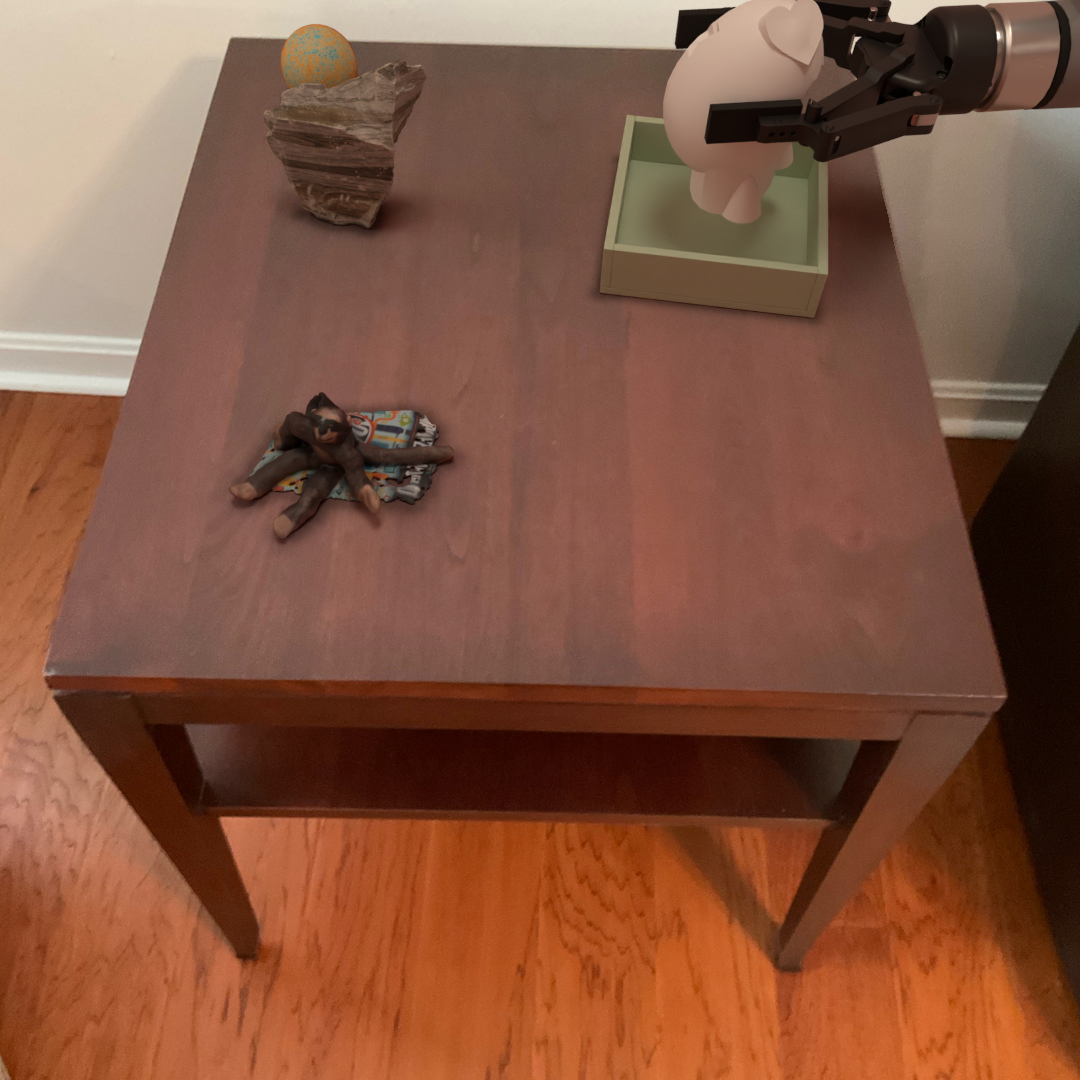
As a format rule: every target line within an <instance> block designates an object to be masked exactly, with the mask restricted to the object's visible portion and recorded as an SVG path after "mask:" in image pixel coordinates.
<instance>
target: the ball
mask: <svg viewBox="0 0 1080 1080" xmlns="http://www.w3.org/2000/svg"><path fill="white" fill-rule="evenodd" d="M280 70H281V74H282V77H283V80H284V83H285V85H286V86H287V88H288V89H291V88H295V87H299V85H300V84H301V83H314V84H318V83H321V84H326V88H327V89H330V88H332V87H335V86H338V85H341V84H343V83H344V82H346V81H348V80H350V79H354V78H357V77H358V61H357V56H356V53H355V50H354V49H353V47H352V45H351V43H350V42H349V40H348V39H347V38H346V37H345V36H344V35H343V34H342V33H341V32H339V31H338V30H336V28H333V27H331V26H329V25H325V24H321V23H311V24H310V23H309V24H307V25H304V26H301V27H299V28H297V29H296V30H294V31H293V32H292V33H291V34H290V35H289V36H288V37H287V38H286V40H285V43H284V44H283V47H282V49H281V54H280Z"/></svg>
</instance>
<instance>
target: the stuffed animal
mask: <svg viewBox="0 0 1080 1080" xmlns="http://www.w3.org/2000/svg"><path fill="white" fill-rule="evenodd" d="M421 416H422V413H420V412H418V411H413V410H412V409H409V410H405V409H400V410H385V411H383V410H377V411H374V412H370V411H355V412H352V411H351V412H345V410H343V409H342V408H341V407H339V406H338V405H337V404H335V403H334V401H332V400H331V398H329V397H328V396H327V394H326V393H325V392H323V391H320V392H318V394H316V395H314V396H312V398H311V399H310V400H309V402H308V403H307V405H306V409H305V414H304V413H303V412H301V411H297V410H294V411H291V412H290V413H288V414H287V415H286V416H285V419H284V421H283V422H279V423H278V424H277V425H275V426H274V427H273V429H272V434H271V435H272V437H273V438H272V440H271V442H270V444H269V445H268V449H266V451H265V452H264V454H263V455H262V457H261V459H260V461H259V462H258V463H257V464H256V466H255V467H254V468H253V472H252V473H250V474H249V475H248V477H247V478H246V479H245V481H244V483H237V484H233V485H231V486H229V488H228V490H229V492H230V494H231V495H232V496H233V497H234V498H236V499H238V500H240V501H241V500H242V501H245V502H247V501H248V502H250V501H253V500H254V499H258V498H261V497H262V496H264V495H265V494H266V493H268V492H270V491H273V492H277V491H278V492H286V491H291V490H292V491H293V492H294V493H295V494H298V495H300V496H299V498H298V499H297V501H296V502H294V503H292V504H290V505H289V506H288V507H286V508H285V509H283V510H282V511H281V512H280V514H279V515H278V516H276V517H275V518H274V519H273V520H272V530H273V531H272V532H273V533H274V535H276V536H277V537H278V538H280V539H285V538H286V537H287V536H289V535H290V534H291V533H292V532H293V531H295V530H297V529H298V528H299V527H300V526H302V525H303V524H304V523H305V522H306V521H307V520H308V519H310V518H311V517H313V516H314V515H315V514H316V511H317V509H318V507H319V505H320V503H321V502H322V501H323V500H326V499H329V498H332V499H338V500H340V499H341V500H346V501H348V502H351V501H355V502H361V503H362V504H363V505H364V506H365V508H367V509H368V510H369V511H370V513H371V514H374V515H377V514H379V513H380V512H381V509H382V500H383V501H384V502H393V501H394V500H397V499H399V500H401V501H402V502H407V504H410V505H411V504H412V505H414V504H415V503H416V502H415V500H420V499H421V497H423V496H424V494H425V492H424V491H423V490H422V489H423V488H424V490H425V491H427V489H429V488H430V486H431V485H430V484H431V483H432V480H433V479H432V475H431V474H433V473H435V472H436V470H437V467H438V466H439V465H440V464H441V463H443V462H447V461H449V460H450V459H451V458H452V457H453V456H454V455H455V450H454V448H453V446H451V445H437V443H435V441H436V439H438V438H439V437H440V436H439V434H438V432H439V429H438V426H437V425H436V424H433V423H431V421H430V420H429V418H428V416H426V415H423V416H424V417H423V418H421ZM419 431H425V432H424V433H422V432H421V433H420V432H419ZM273 449H274V451H272V450H273ZM411 468H414V470H410V469H411ZM421 470H422V471H421ZM423 470H424V471H423ZM409 476H411V477H410V480H409V484H407V485H404V486H399V485H393V484H390V483H389V482H387V481H386V479H394V480H396V483H402V482H404V479H405V478H407V477H409ZM374 478H376V479H379V480H374ZM302 479H306V480H302ZM291 484H293V485H291Z"/></svg>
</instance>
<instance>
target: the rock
mask: <svg viewBox="0 0 1080 1080" xmlns="http://www.w3.org/2000/svg"><path fill="white" fill-rule="evenodd" d="M426 79H427V74H426V73H425V69H424V66H423V65H422V64H413V65H412V64H410V65H409V64H407V61H406V59H404V58H402V59H398V60H395V61H391V62H388V63H385V64H384V65H382V66H380V67H378V68H374V69H372V70H370V71H367V72H364V73H363V74H360V76H357V78H354V79H350V80H348V81H346V82H344V83H343V84H341V85H338V86H335V87H332V88H330V89H327V88H326V84H321V83H318V84H314V83H301V84H300V85H299V87H295V88H291V89H289V88H288V89H286V90H284V91H283V92H281V95H280V97H281V98H280V104H279V105H277V106H274V107H273V108H267V109H266V110H264V112H263V122H264V124H265V126H266V128H267V131H268V132H267V133H266V134H265V140H266V143H267V144H268V146H269V148H270V150H271V153H273V154H274V156H276V158H277V159H278V160H280V162H281V164H282V166H283V170H284V172H285V174H286V176H287V177H286V178H287V180H288V182H289V186H290V188H291V190H292V191H293V193H294V194H295V195H296V196H297V197H298V198H299V200H300V205H301V208H302V209H304V210H306V211H308V213H311V214H313V215H314V217H316V218H317V219H319V220H321V221H324V222H327V223H330V224H331V225H332V226H345V225H347V226H348V225H349V226H350V225H353V226H358V227H362V229H368V230H371V229H372V228H373V227H374V226H375V225H376V221H377V219H378V216H379V211H380V208H381V206H382V204H383V203H384V202H385V200H386V199H387V197H389V195H390V194H391V190H392V188H393V184H394V177H395V176H394V175H395V174H394V168H395V164H394V163H395V158H394V157H395V155H396V154H395V153H396V152H395V151H396V149H395V143H397V142H398V139H399V137H400V135H401V133H402V131H403V129H404V128H405V126H406V123H407V121H408V118H409V117H410V116H411V114H412V113H413V108H414V105H415V104H416V102H417V101H418V100H419V98H420V97H421V95H422V91H423V88H424V84H425V81H427V80H426Z"/></svg>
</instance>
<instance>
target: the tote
mask: <svg viewBox="0 0 1080 1080" xmlns="http://www.w3.org/2000/svg"><path fill="white" fill-rule="evenodd" d="M625 116H626V117H625V122H624V128H623V135H622V140H621V145H620V152H619V157H618V162H617V169H616V173H615V179H614V185H613V190H612V191H613V192H612V198H611V203H610V209H609V214H608V220H607V224H606V225H607V226H606V232H605V237H604V242H603V250H602V261H601V273H600V286H599V293H600V294H607V295H615V296H622V297H623V296H624V297H632V298H633V297H634V298H640V299H650V300H657V301H664V302H665V301H666V302H674V303H682V304H683V303H684V304H692V305H700V306H709V307H716V308H725V309H734V310H742V311H751V312H759V313H768V314H777V315H785V316H794V317H802V318H811V319H814V318H815V316H816V313H817V310H818V307H819V305H820V302H821V301H820V300H821V299H822V295H823V292H824V289H825V286H826V282H827V280H828V276H829V161H827V162H818V161H816V160H815V159H814V158H813V153H814V151H813V150H812V149H811V148H810V147H805V146H802V145H800V144H799V143H798V142H792V148H793V162H792V164H791V165H790V166H788V167H787V168H784V169H778V170H775V172H774V176H773V179H772V181H771V184H770V187H769V188H768V190H767V191H766V192H765V194H764V195H763V196H762V198H761V199H760V203H761V215H760V217H759V218H758V219H757V220H755V221H753V222H750V223H745V224H742V223H735V222H732V221H729V220H727V219H726V218H724V217H723V215H719V214H712V213H709V212H707V211H705V210H703V209H701V208H699V206H698V205H697V204H696V203H695V202H694V200H693V199H692V195H691V192H690V179H691V172H692V169H691V168H690V167H689V166H688V165H686V164H685V163H684V162H683V161H682V160H681V159H680V158H679V156H678V155H677V154H676V153H675V151H674V149H673V148H672V146H671V144H670V142H669V139H668V137H667V133H666V130H665V126H664V122H663V117H661V118H660V117H652V116H642V115H632V114H626V115H625Z"/></svg>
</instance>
